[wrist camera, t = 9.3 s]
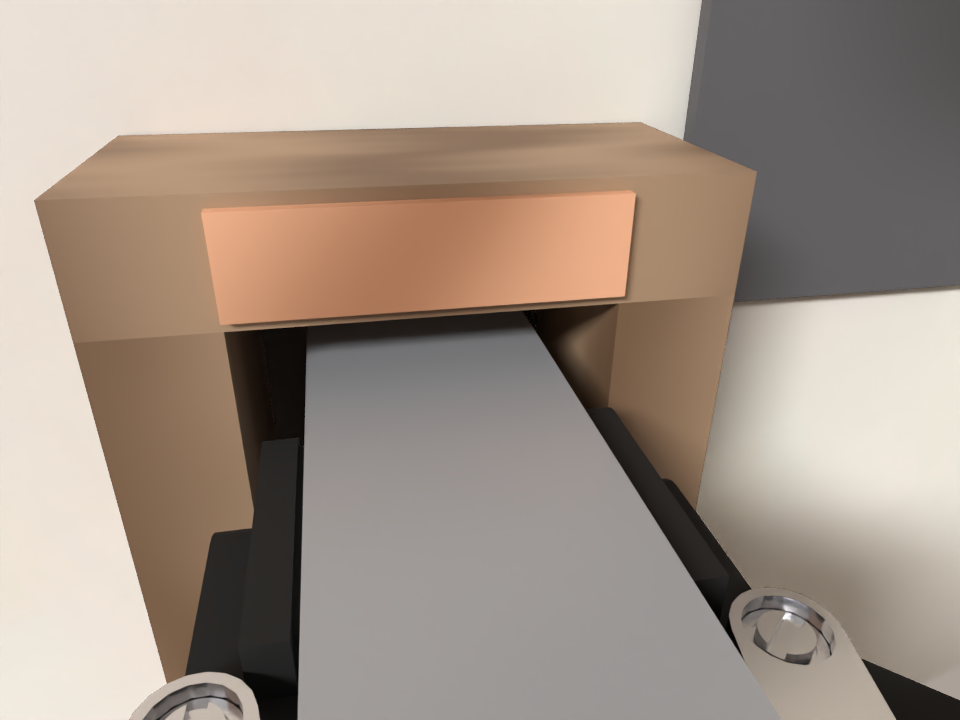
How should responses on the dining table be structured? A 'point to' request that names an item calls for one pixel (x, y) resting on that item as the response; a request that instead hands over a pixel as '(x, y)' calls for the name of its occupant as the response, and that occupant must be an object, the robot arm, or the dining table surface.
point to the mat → (836, 139)
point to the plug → (486, 544)
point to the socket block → (375, 292)
